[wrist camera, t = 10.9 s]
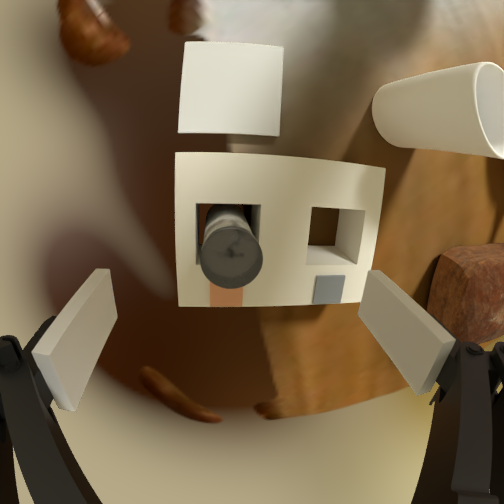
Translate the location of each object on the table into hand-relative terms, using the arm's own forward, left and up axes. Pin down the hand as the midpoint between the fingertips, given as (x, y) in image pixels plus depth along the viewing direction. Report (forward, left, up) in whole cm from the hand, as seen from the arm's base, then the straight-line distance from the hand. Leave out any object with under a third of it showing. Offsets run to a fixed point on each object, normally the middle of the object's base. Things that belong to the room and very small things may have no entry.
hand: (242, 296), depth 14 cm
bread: (+8, +43, -18) cm, 47 cm away
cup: (-14, +20, -18) cm, 30 cm away
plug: (0, 0, -18) cm, 18 cm away
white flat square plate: (-14, 0, -18) cm, 22 cm away
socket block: (0, +5, -18) cm, 18 cm away
